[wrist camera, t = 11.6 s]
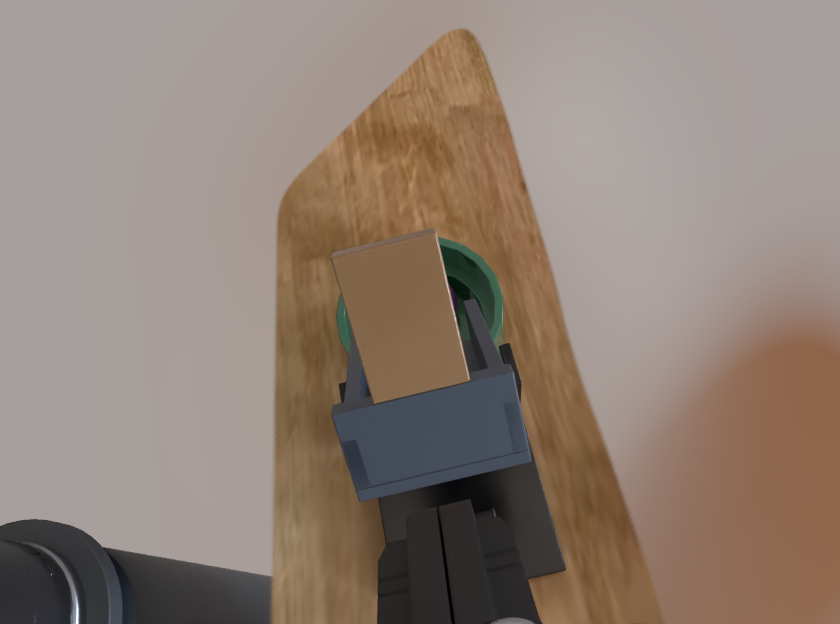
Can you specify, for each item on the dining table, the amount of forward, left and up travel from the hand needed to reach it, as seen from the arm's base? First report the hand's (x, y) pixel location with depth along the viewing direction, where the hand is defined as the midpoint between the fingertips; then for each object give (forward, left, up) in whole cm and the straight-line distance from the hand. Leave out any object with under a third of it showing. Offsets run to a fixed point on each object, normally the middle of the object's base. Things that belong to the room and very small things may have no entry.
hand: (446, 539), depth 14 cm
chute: (+5, +4, -10) cm, 12 cm away
